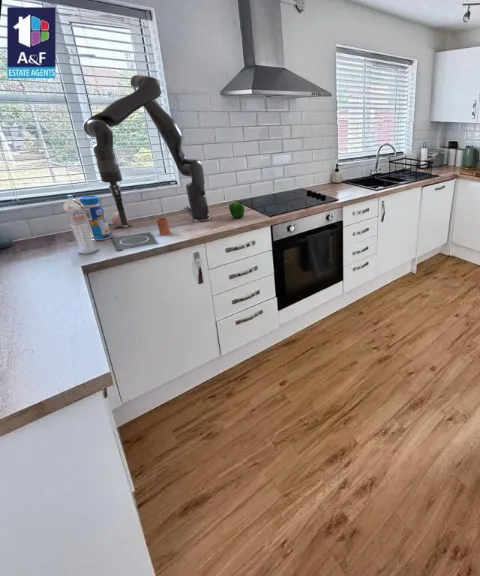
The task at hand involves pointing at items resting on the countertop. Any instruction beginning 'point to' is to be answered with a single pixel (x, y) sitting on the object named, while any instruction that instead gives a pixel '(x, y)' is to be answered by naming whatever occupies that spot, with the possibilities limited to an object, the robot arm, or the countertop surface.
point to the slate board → (133, 241)
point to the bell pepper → (236, 209)
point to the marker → (122, 217)
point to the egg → (117, 219)
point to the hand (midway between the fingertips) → (120, 209)
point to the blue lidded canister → (96, 217)
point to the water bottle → (80, 226)
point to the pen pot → (163, 226)
